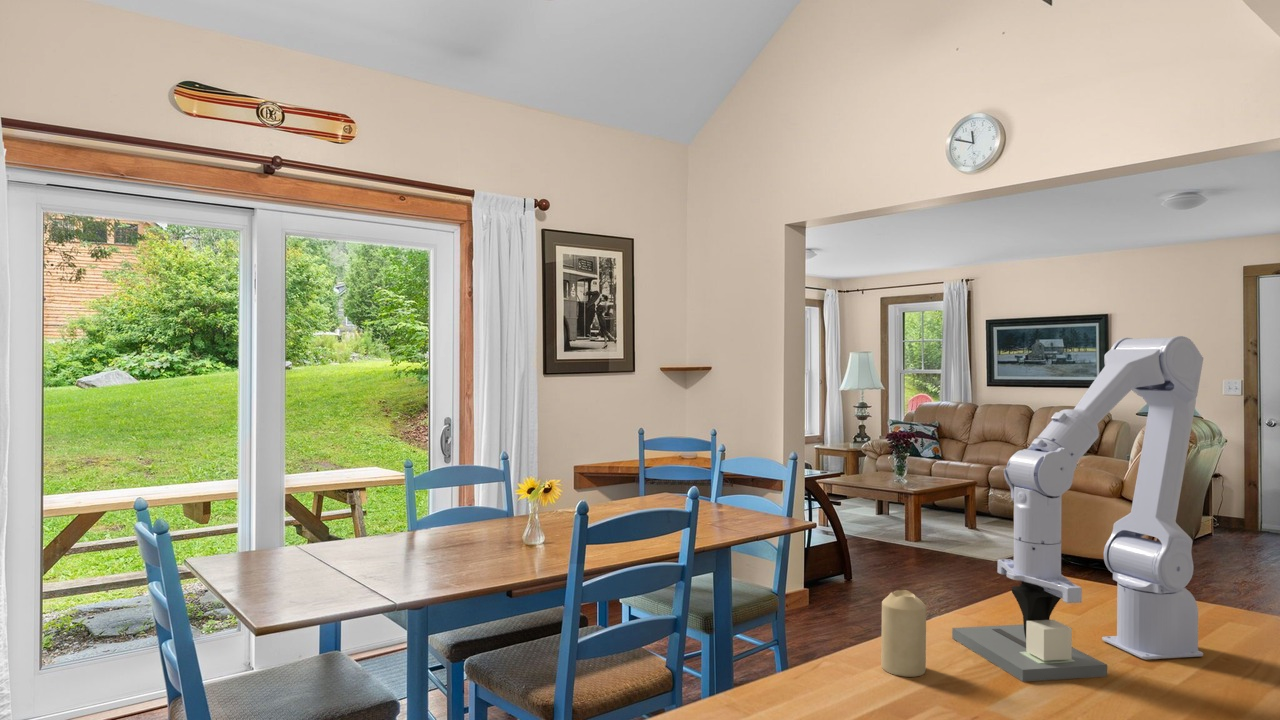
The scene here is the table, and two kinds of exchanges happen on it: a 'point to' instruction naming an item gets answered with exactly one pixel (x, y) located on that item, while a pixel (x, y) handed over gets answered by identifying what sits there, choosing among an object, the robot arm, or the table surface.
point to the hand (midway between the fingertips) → (1036, 641)
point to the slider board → (1024, 654)
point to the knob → (1049, 640)
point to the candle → (903, 634)
